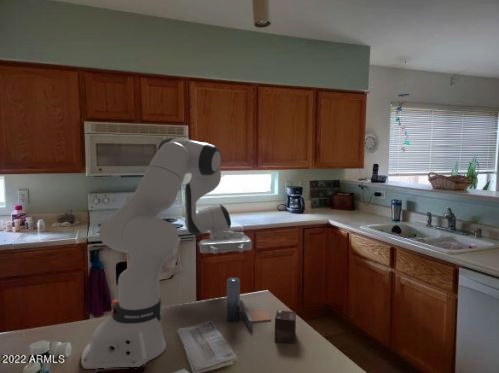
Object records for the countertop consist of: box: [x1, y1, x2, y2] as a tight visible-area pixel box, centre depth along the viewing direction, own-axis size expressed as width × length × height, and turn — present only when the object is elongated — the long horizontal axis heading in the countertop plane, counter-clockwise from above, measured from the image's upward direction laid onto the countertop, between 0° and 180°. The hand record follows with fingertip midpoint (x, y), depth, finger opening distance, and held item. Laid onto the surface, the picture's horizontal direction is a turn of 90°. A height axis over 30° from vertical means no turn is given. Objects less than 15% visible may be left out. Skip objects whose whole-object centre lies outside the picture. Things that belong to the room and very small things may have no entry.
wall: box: [240, 300, 254, 331], centre depth 120 cm, size 1×16×3 cm, turn 13°
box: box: [274, 310, 297, 344], centre depth 108 cm, size 6×6×7 cm
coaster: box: [248, 309, 272, 323], centre depth 122 cm, size 7×7×1 cm
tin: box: [226, 277, 241, 324], centre depth 119 cm, size 4×4×14 cm
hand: (228, 250), depth 129 cm, fingers open, 8 cm apart
